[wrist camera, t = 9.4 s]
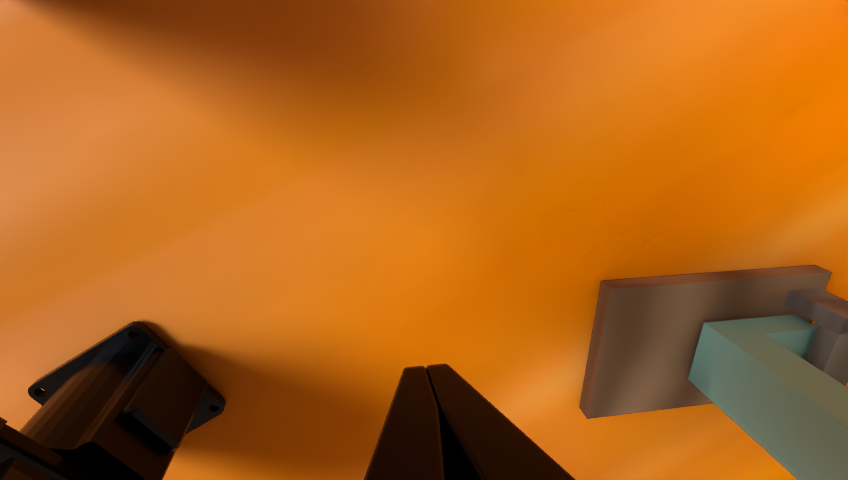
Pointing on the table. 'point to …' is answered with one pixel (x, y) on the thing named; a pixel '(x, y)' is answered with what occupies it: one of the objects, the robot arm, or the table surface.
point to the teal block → (776, 392)
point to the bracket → (696, 331)
